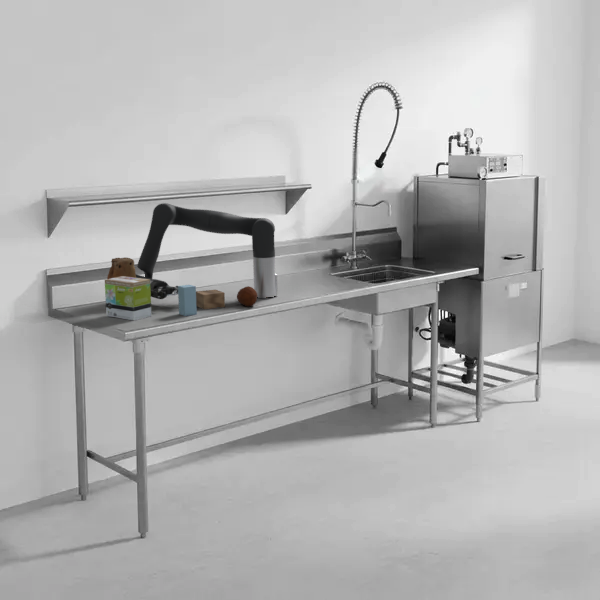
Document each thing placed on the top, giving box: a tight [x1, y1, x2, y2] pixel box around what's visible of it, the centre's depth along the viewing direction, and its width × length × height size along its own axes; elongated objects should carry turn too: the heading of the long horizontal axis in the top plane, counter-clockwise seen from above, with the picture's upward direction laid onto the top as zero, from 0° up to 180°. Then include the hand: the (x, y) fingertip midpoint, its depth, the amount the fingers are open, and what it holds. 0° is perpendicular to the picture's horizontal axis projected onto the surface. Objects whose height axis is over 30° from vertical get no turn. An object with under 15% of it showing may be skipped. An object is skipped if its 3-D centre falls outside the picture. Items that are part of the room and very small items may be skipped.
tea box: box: [104, 276, 152, 321], centre depth 339 cm, size 15×10×15 cm, turn 56°
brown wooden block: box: [196, 289, 226, 310], centre depth 359 cm, size 9×9×6 cm
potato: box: [236, 285, 258, 307], centre depth 359 cm, size 8×12×8 cm, turn 34°
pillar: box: [177, 284, 198, 317], centre depth 342 cm, size 5×5×11 cm
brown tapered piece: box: [106, 257, 137, 279], centre depth 357 cm, size 11×8×20 cm
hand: (174, 294), depth 350 cm, fingers open, 8 cm apart
